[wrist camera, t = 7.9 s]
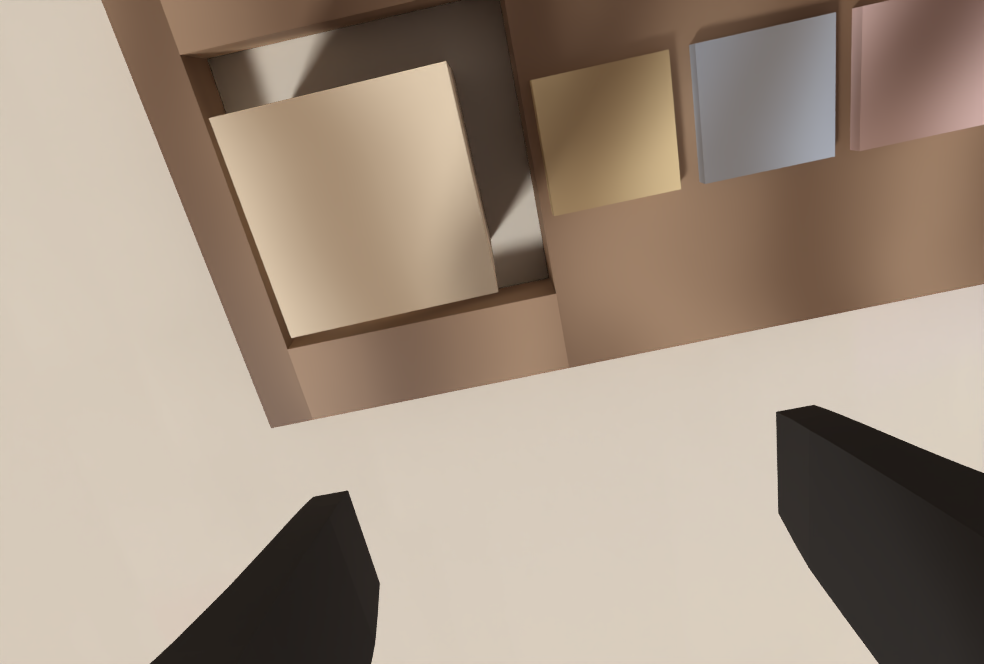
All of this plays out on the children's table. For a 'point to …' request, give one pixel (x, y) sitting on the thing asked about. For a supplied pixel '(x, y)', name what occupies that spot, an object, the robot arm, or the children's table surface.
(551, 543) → the children's table surface
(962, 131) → the puzzle board
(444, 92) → the maple block
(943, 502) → the robot arm
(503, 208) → the children's table surface
